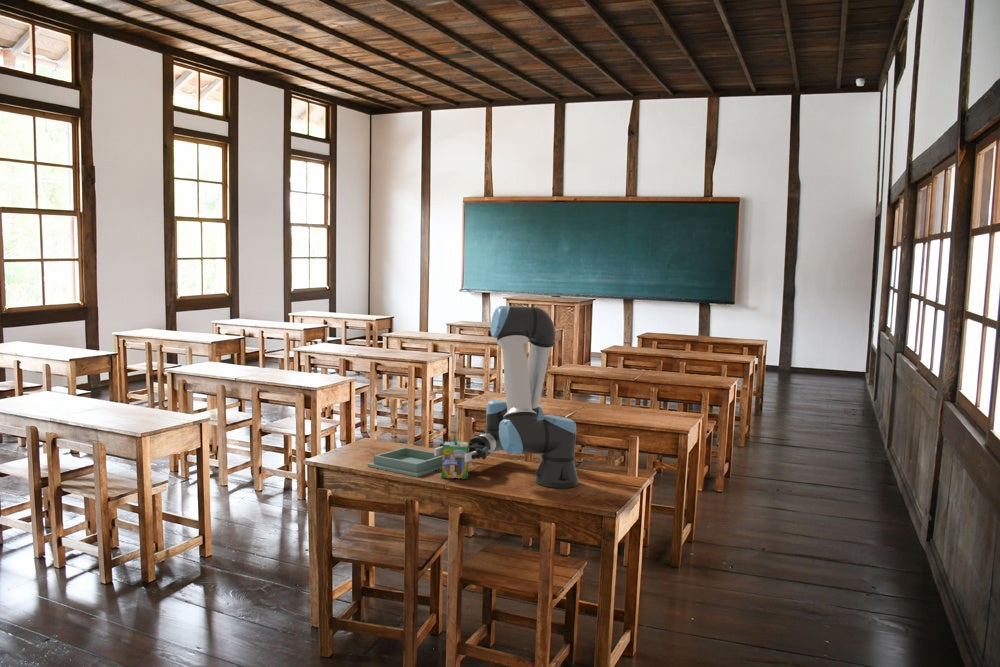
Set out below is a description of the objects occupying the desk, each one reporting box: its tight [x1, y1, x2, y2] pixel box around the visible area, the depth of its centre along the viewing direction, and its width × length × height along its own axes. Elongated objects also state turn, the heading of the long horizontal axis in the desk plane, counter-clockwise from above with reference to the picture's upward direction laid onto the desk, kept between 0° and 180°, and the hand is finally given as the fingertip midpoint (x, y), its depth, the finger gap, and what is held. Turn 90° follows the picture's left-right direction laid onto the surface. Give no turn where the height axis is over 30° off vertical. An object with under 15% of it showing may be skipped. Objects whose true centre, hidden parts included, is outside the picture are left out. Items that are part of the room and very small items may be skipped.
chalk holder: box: [367, 446, 442, 478], centre depth 275 cm, size 22×22×4 cm
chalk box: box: [440, 433, 470, 480], centre depth 264 cm, size 9×9×15 cm
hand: (450, 455), depth 261 cm, fingers closed on chalk box, 12 cm apart
